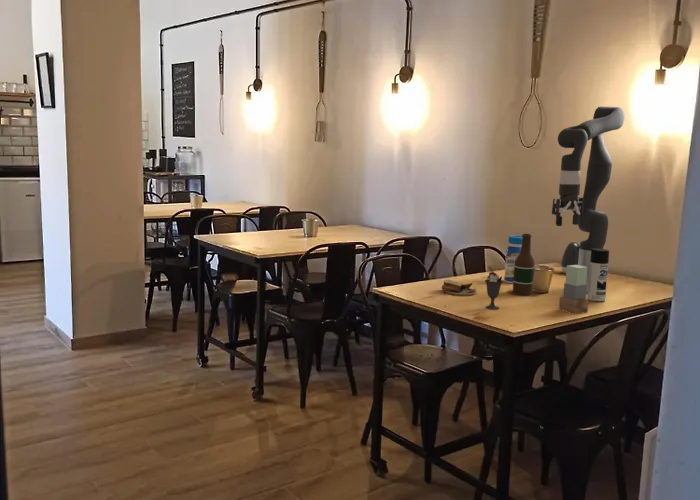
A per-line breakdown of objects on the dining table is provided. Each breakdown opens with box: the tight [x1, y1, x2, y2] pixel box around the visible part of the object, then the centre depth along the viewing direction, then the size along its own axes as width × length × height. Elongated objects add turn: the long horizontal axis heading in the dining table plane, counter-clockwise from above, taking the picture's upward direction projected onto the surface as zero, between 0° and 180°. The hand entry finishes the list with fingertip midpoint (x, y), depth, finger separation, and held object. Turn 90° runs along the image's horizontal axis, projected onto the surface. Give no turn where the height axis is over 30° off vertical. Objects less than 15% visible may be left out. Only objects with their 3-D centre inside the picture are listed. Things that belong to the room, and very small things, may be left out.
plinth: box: [558, 295, 590, 315], centre depth 246 cm, size 7×7×5 cm
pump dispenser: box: [560, 241, 580, 275], centre depth 315 cm, size 10×10×15 cm
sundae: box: [484, 266, 504, 310], centre depth 245 cm, size 7×7×15 cm
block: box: [564, 265, 587, 286], centre depth 244 cm, size 5×5×6 cm
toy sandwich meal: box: [441, 279, 477, 297], centre depth 270 cm, size 12×14×5 cm
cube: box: [562, 282, 587, 300], centre depth 245 cm, size 6×6×5 cm
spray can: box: [586, 248, 610, 303], centre depth 263 cm, size 7×7×20 cm
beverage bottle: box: [503, 235, 522, 284], centre depth 292 cm, size 8×8×20 cm
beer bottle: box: [512, 233, 535, 296], centre depth 271 cm, size 8×8×24 cm
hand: (567, 225), depth 258 cm, fingers open, 8 cm apart
